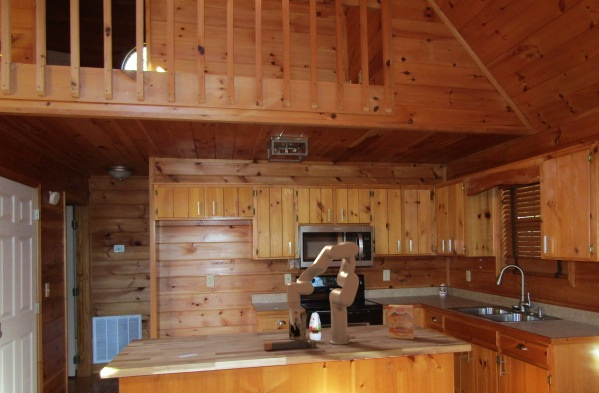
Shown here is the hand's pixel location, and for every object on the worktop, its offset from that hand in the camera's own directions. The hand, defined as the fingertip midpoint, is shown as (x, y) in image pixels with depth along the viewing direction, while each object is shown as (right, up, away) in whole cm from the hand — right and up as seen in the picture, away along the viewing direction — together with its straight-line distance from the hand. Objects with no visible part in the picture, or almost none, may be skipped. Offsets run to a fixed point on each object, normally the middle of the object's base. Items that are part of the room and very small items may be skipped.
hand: (295, 334), depth 257 cm
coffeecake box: (+66, -9, +22) cm, 70 cm away
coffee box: (+1, -9, +21) cm, 23 cm away
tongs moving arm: (-4, -7, -3) cm, 8 cm away
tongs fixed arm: (-3, -7, -2) cm, 8 cm away
